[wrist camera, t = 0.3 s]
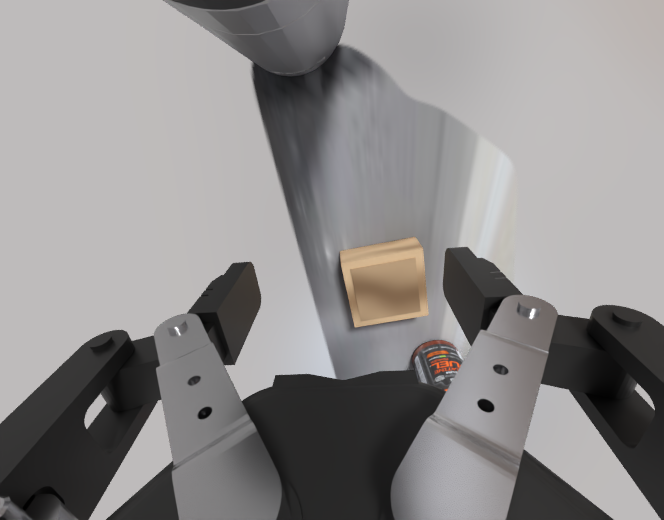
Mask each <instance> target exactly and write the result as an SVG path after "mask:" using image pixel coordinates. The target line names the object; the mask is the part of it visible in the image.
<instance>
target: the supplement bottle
mask: <svg viewBox="0 0 664 520" xmlns="http://www.w3.org/2000/svg"><path fill="white" fill-rule="evenodd" d="M412 363H413V367H414V370H415V371H416V375H417V379H418V382H423V383H427V384H430V385H433V386H436V387H438V388H441V389H443V390H445V391H447V390H448V388H449V386H450V384H451V382H452V381H453V379H454V377H455V375H456V373H457V372H458V370H459V368H460V366H461V364H462V363H463V359H462V357H461V355H460V353H459V352H458V350H457V349H456V347H455V346H454V345H453V344H451V343H449V342H446V341H443V340H433V341H429V342H426V343H424V344H422V345H421V346H419V347H418V348H417V349H416V351H415V352H414V354H413V358H412Z"/></svg>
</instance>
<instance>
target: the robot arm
mask: <svg viewBox="0 0 664 520" xmlns="http://www.w3.org/2000/svg"><path fill="white" fill-rule="evenodd" d="M163 1H165V2H166V3H168V4H169V5H170V6H172V7H173V8H175V9H177V10H178V11H179V12H181V13H182V14H184V15H185V16H187V17H189V18H190V19H191V20H193V21H194V22H196V23H197V24H199V25H200V26H202V27H203V28H205V29H206V30H208V31H209V32H210V33H212V34H213V35H215V36H216V37H218V38H219V39H221V40H222V41H224V42H225V43H226V44H228V45H229V46H231V47H232V48H234V49H235V50H237V51H238V52H240V53H241V54H243V55H244V56H246V57H247V58H248V59H250V60H251V61H253V62H254V63H256V64H257V65H259V66H260V67H262V68H263V69H265V70H267V71H269V72H271V73H274V74H277V75H281V76H289V77H291V76H300V75H304V74H306V73H309V72H311V71H313V70H315V69H316V68H318V67H319V66H321V65H322V64H323V63H324V62H325V61H326V60H327V59H328V58H329V57H330V56H331V55H332V53H333V51H334V50H335V48H336V46H337V45H338V43H339V41H340V38H341V35H342V32H343V29H344V25H345V20H346V14H347V8H348V3H349V0H163ZM443 290H444V295H445V297H446V299H447V301H448V303H449V305H450V307H451V309H452V311H453V313H454V315H455V317H456V319H457V320H458V322H459V324H460V326H461V328H462V330H463V332H464V334H465V336H466V338H467V340H468V342H469V343H470V345H471V348H470V350H469V352H468V354H467V355H466V357H465V359H464V361H463V363H462V364H461V366H460V368H459V370H458V372H457V373H456V375H455V377H454V379H453V381H452V382H451V384H450V386H449V388H448V390H447V391H445V390H443V389H441V388H438V387H436V386H433V385H430V384H427V383H423V382H418V379H417V375H416V371H415V370H406V371H380V372H376V373H372V374H368V375H364V376H360V377H356V378H352V379H348V380H338V379H332V378H327V377H322V376H316V375H311V374H297V375H276V376H275V379H274V383H273V386H272V387H269V388H267V389H264V390H261V391H259V392H257V393H255V394H252V395H251V396H249V397H247V398H246V399H244V400H243V401H241V399H240V397H239V395H238V393H237V391H236V389H235V387H234V385H233V383H232V381H231V379H230V377H229V375H228V373H227V370H226V368H225V366H224V365H235V362H236V360H237V358H238V356H239V354H240V351H241V349H242V347H243V345H244V342H245V340H246V337H247V335H248V333H249V331H250V329H251V326H252V324H253V322H254V320H255V317H256V315H257V313H258V310H259V308H260V305H261V294H260V289H259V286H258V281H257V277H256V274H255V269H254V266H253V264H252V263H251V262H243V263H233V264H232V265H231V266H230V267H229V269H228V270H227V271H226V273H225V274H224V275H221V276H219V277H218V278H216V279H215V280H214V281H212V282H211V283H210V285H209V286H208V287H207V289H206V291H204V292H203V293H202V295H201V297H199V299H198V300H197V301H196V302H195V304H194V305H193V306H192V308H191V309H190V310H189V311H188V313H187V314H181V315H177V316H175V317H172V318H170V319H168V320H166V321H165V322H163V323H162V324H160V325H159V326H158V327H157V329H156V330H155V332H154V336H150V337H146V338H143V339H139V340H135V341H131V339H130V337H129V335H128V333H127V332H126V331H123V330H114V331H110V332H106V333H103V334H101V335H98V336H96V337H94V338H92V339H91V340H89V341H88V342H86V343H85V344H84V345H82V346H81V347H80V348H79V349H78V350H77V351H76V352H75V353H74V354H73V355H72V356H71V357H70V358H69V359H68V360H67V361H66V362H65V363H63V364H62V366H60V367H59V368H58V369H57V370H56V371H55V372H54V373H53V374H52V375H51V376H50V377H49V378H48V379H47V380H46V381H45V382H44V383H43V384H41V385H40V387H38V388H37V389H36V390H35V391H34V392H33V393H32V394H31V395H30V396H29V397H28V398H27V399H26V400H25V401H24V402H23V403H22V404H21V405H20V406H18V407H17V408H16V409H15V410H14V411H13V412H12V413H11V414H10V415H9V416H8V417H7V418H6V419H5V420H4V421H3V422H2V423H1V424H0V520H88V519H89V518H90V516H91V514H92V513H93V511H94V509H95V508H96V506H97V504H98V502H99V501H100V499H101V497H102V496H103V494H104V492H105V491H106V489H107V487H108V485H109V484H110V482H111V480H112V479H113V477H114V475H115V473H116V472H117V470H118V468H119V467H120V465H121V463H122V461H123V460H124V458H125V456H126V454H127V453H128V451H129V450H130V448H131V446H132V444H133V443H134V441H135V439H136V438H137V436H138V434H139V432H140V431H141V429H142V427H143V426H144V424H145V422H146V420H147V419H148V417H149V415H150V414H151V412H152V410H153V408H154V407H155V405H156V403H157V401H158V400H162V404H163V410H164V415H165V420H166V426H167V431H168V437H169V442H170V447H171V453H172V458H173V461H172V462H171V463H170V464H169V465H168V466H166V467H165V468H164V469H163V470H162V471H161V472H160V473H159V474H157V475H156V476H155V477H154V478H153V479H152V480H150V481H149V482H148V483H147V484H146V485H145V486H144V487H143V488H141V489H140V490H139V491H138V492H137V493H136V494H135V495H134V496H132V497H131V498H130V499H129V500H128V501H127V502H125V503H124V504H123V505H122V506H121V507H120V508H119V509H117V510H116V511H115V512H114V513H113V514H112V515H111V516H110V517H108V518H107V519H106V520H613V519H612V518H611V517H610V516H608V515H607V514H606V513H604V512H603V511H602V510H601V509H599V508H598V507H597V506H596V505H594V504H593V503H592V502H590V501H589V500H588V499H587V498H585V497H584V496H583V495H581V494H580V493H579V492H578V491H576V490H575V489H574V488H573V487H571V486H570V485H569V484H568V483H566V482H565V481H563V480H562V479H561V478H560V477H559V476H557V475H556V474H555V473H553V472H552V471H551V470H550V469H548V468H547V467H546V466H544V465H543V464H542V463H541V462H539V461H538V460H537V459H536V458H534V457H533V456H532V455H530V454H529V453H528V452H527V451H525V450H524V445H525V441H526V438H527V434H528V430H529V426H530V422H531V418H532V414H533V410H534V407H535V403H536V399H537V395H538V391H539V387H540V384H545V385H550V386H555V387H559V388H564V389H569V391H570V392H571V394H572V395H573V396H574V398H575V399H576V400H577V402H578V403H579V405H580V406H581V407H582V409H583V410H584V412H585V413H586V415H587V416H588V417H589V419H590V420H591V422H592V423H593V424H594V426H595V427H596V429H597V430H598V431H599V433H600V434H601V436H602V437H603V439H604V440H605V441H606V443H607V444H608V445H609V447H610V448H611V449H612V451H613V453H614V454H615V455H616V457H617V458H618V459H619V461H620V462H621V464H622V465H623V467H624V468H625V469H626V470H627V472H628V474H629V475H630V476H631V478H632V479H633V481H634V482H635V483H636V485H637V486H638V488H639V489H640V490H641V492H642V493H643V495H644V496H645V497H646V499H647V500H648V502H649V503H650V504H651V506H652V507H653V509H654V510H655V512H656V513H657V514H658V516H659V517H660V518H661V520H664V326H663V325H662V324H660V323H659V322H658V321H656V320H655V319H653V318H652V317H650V316H648V315H646V314H644V313H642V312H639V311H636V310H634V309H630V308H626V307H621V306H615V305H602V306H598V307H596V308H594V309H593V311H592V313H591V316H590V319H585V318H578V317H570V316H563V315H558V313H557V310H556V309H555V308H554V307H553V306H552V305H551V304H550V303H548V302H546V301H544V300H542V299H539V298H536V297H533V296H527V295H523V294H522V293H521V292H520V291H519V290H518V289H517V288H516V287H515V286H514V285H513V284H512V283H511V282H510V280H509V279H508V278H506V276H505V275H504V274H503V273H502V272H500V270H499V269H498V268H497V267H496V266H495V265H494V264H493V263H491V262H489V261H487V260H485V259H483V258H477V257H476V256H475V255H474V254H473V253H472V251H471V250H470V249H469V248H468V247H458V248H447V249H446V252H445V263H444V276H443ZM637 383H638V384H639V385H640V386H641V387H642V388H643V389H644V390H645V391H646V392H647V393H648V395H649V396H650V398H651V399H652V401H653V404H654V407H655V411H654V409H653V408H652V407H651V406H650V405H649V404H648V403H647V402H646V401H645V400H644V399H643V398H642V397H641V396H640V395H639V394H638V393H637V392H636V390H635V387H636V385H637ZM100 393H101V395H102V396H103V398H104V399H105V401H106V402H107V404H106V405H105V407H104V408H103V409H102V410H101V412H100V413H99V414H98V416H97V417H96V418H95V420H94V421H93V422H92V423H91V425H90V426H89V427H88V429H86V427H85V424H84V418H85V414H86V412H87V409H88V408H89V407H90V405H91V404H92V403H93V402H94V400H95V399H96V398H97V397H98V395H99V394H100Z"/></svg>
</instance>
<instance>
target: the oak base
mask: <svg viewBox="0 0 664 520" xmlns="http://www.w3.org/2000/svg"><path fill="white" fill-rule="evenodd" d="M340 259H341V267H342V272H343V276H344V281H345V285H346V290H347V294H348V299H349V303H350V308H351V312H352V317H353V322H354V326H355V327H361V326H367V325H373V324H379V323H385V322H391V321H397V320H403V319H409V318H415V317H421V316H427V315H428V304H427V292H426V280H425V268H424V255H423V248H422V246H421V245H420V243H419V242H418V240H417V239H416V238H415V237H411V238H406V239H401V240H396V241H391V242H385V243H380V244H375V245H370V246H364V247H359V248H354V249H349V250H343V251H340Z"/></svg>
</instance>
